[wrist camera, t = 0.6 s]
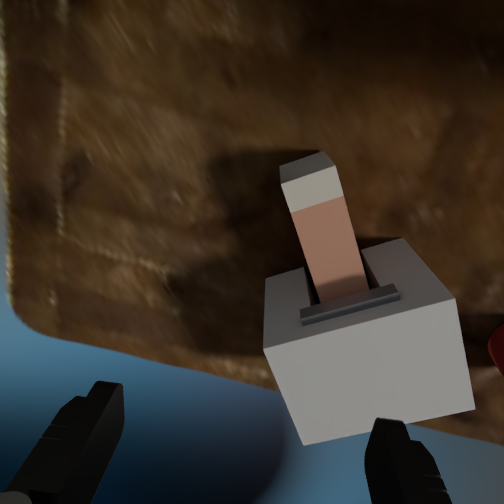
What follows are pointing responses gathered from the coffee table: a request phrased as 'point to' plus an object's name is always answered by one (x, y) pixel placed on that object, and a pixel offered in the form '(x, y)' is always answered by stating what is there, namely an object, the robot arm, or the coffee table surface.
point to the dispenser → (367, 348)
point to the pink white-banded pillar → (323, 226)
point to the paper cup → (497, 347)
